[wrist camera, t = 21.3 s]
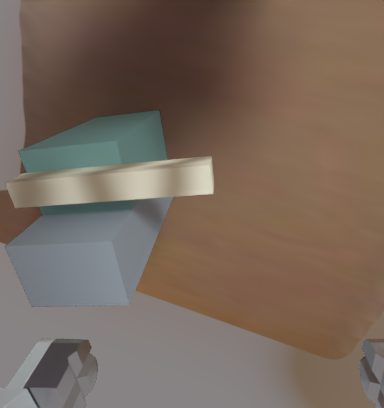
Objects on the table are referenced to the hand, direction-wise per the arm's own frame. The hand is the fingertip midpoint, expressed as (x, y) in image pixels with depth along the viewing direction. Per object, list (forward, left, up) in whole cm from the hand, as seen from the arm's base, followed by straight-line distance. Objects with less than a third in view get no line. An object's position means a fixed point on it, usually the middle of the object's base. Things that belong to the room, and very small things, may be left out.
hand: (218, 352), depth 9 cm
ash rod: (+10, -4, -20) cm, 23 cm away
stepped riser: (+15, -3, -39) cm, 42 cm away
